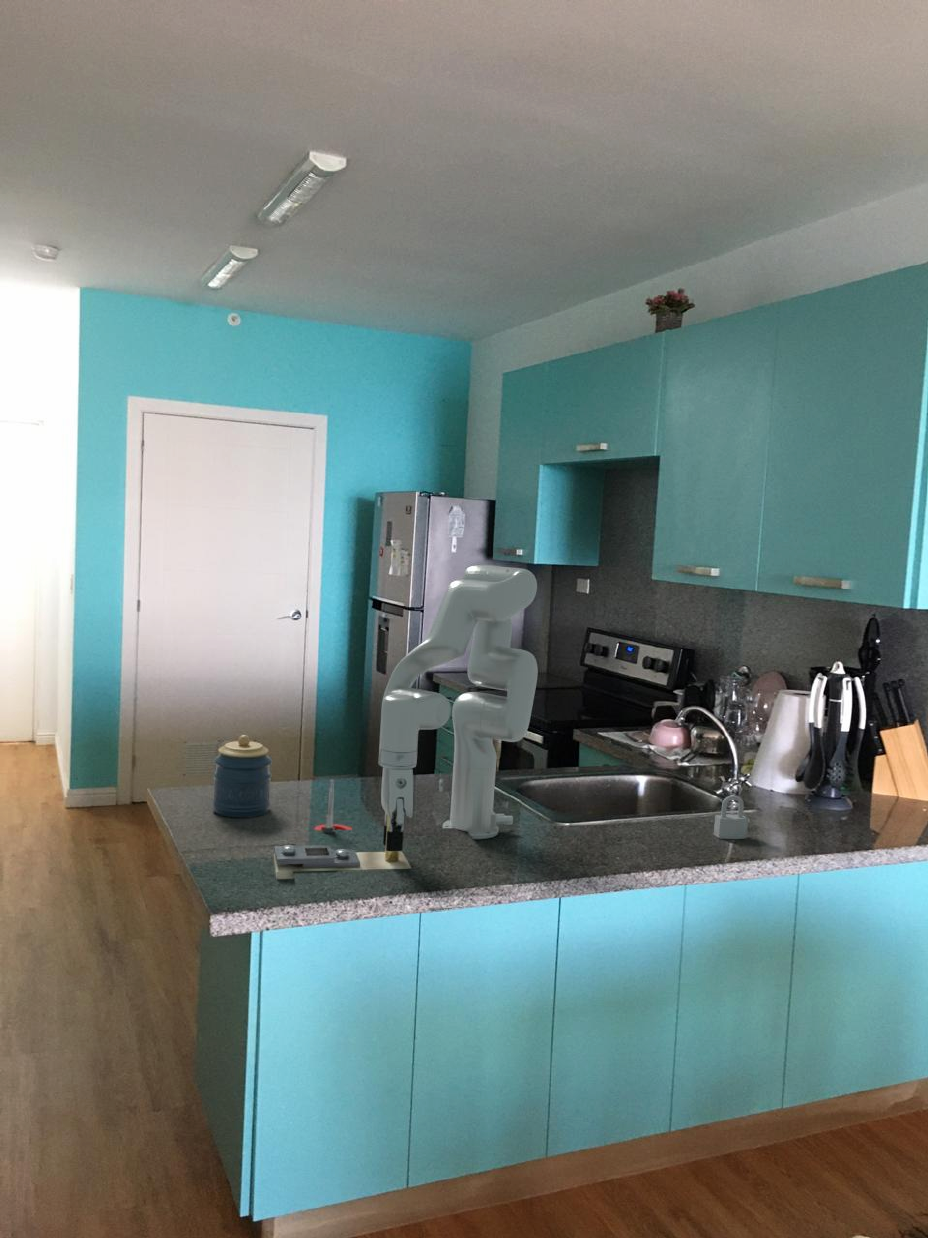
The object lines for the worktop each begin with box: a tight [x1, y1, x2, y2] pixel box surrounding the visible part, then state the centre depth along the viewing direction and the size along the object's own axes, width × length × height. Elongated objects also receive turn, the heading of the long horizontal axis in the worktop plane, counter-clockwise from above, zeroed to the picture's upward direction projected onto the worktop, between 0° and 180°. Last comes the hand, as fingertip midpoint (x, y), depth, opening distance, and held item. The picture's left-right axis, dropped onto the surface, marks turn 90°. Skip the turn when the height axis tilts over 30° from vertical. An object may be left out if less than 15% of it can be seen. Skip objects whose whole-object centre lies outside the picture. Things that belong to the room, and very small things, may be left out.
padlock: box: [713, 794, 749, 840], centre depth 241 cm, size 7×4×10 cm, turn 102°
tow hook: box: [314, 779, 353, 834], centre depth 225 cm, size 8×13×9 cm
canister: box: [212, 734, 273, 819], centre depth 237 cm, size 13×13×18 cm
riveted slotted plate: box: [273, 844, 360, 869], centre depth 203 cm, size 16×8×3 cm, turn 104°
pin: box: [384, 813, 400, 862], centre depth 206 cm, size 3×3×10 cm
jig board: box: [272, 850, 412, 880], centre depth 204 cm, size 26×10×2 cm, turn 104°
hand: (392, 847), depth 206 cm, fingers closed on pin, 2 cm apart
